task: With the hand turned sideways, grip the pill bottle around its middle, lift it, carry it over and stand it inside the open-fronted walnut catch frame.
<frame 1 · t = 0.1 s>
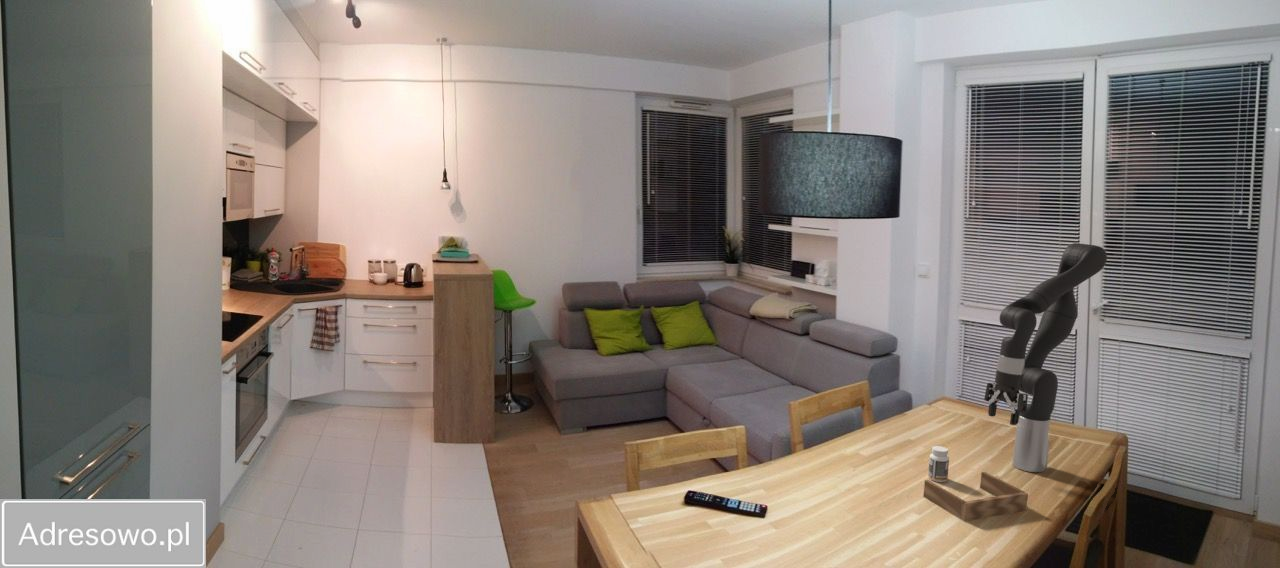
hand: (1002, 420, 230), 17 cm above the table, fingers open, 8 cm apart
pill bottle: (937, 479, 226), on the table
catch frame: (971, 501, 211), on the table
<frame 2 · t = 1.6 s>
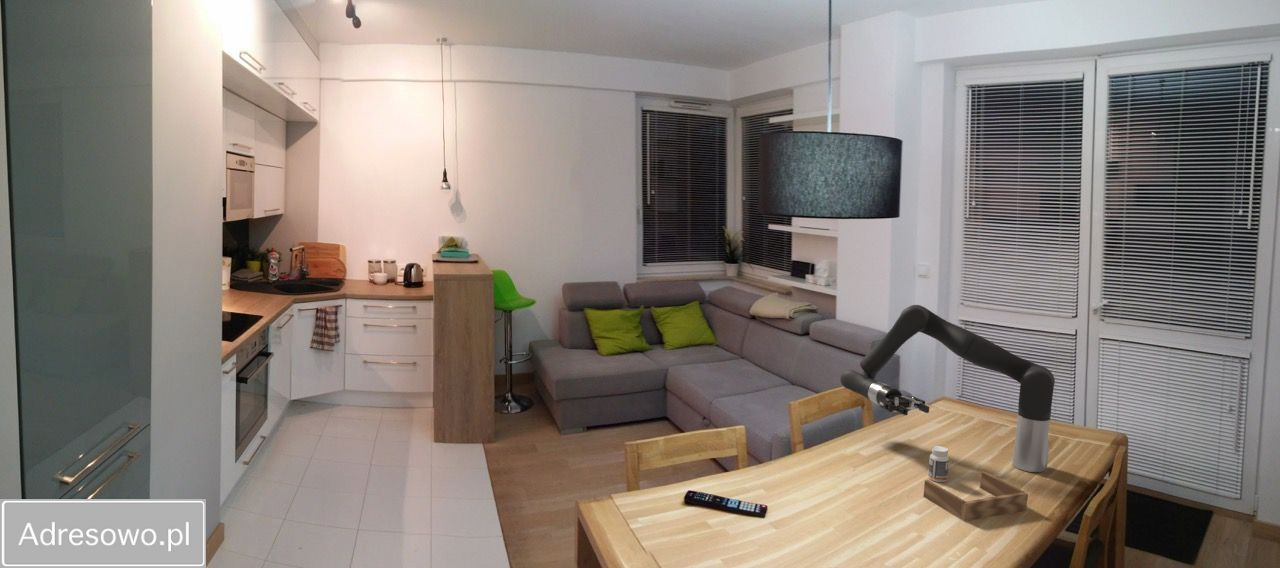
hand: (917, 411, 233), 18 cm above the table, fingers open, 8 cm apart
nothing on the table moved.
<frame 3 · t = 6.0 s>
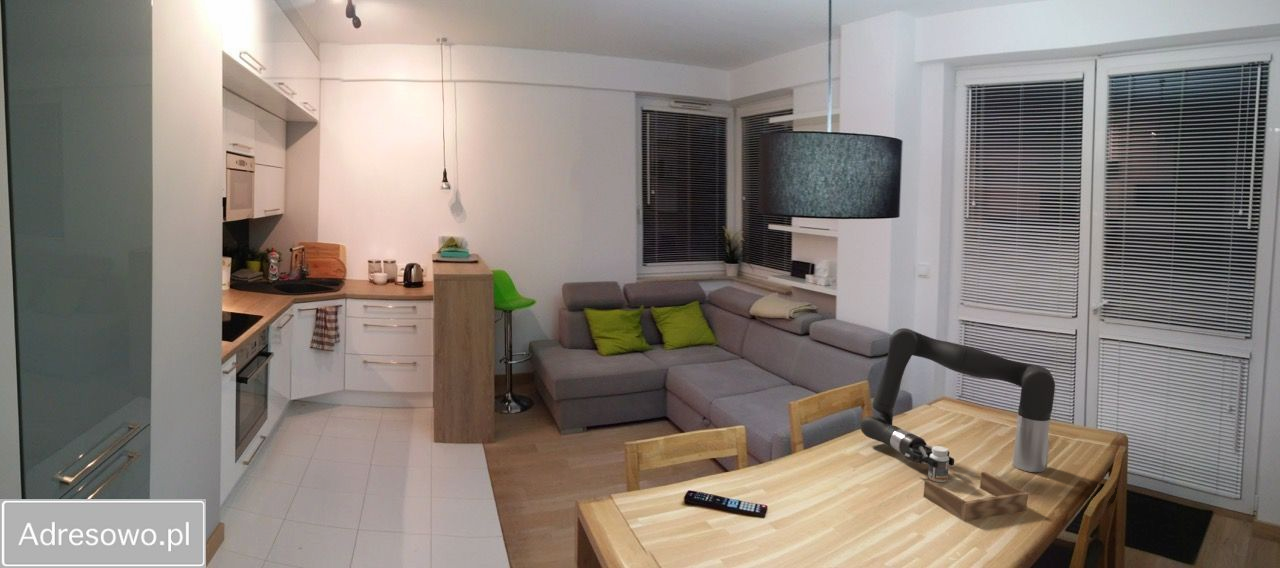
hand: (945, 463, 223), 6 cm above the table, fingers closed on pill bottle, 5 cm apart
pill bottle: (937, 479, 226), on the table, touching gripper
when the fingers open (7 cm above the table, at t = 11.0 s): pill bottle drops 1 cm, on the table.
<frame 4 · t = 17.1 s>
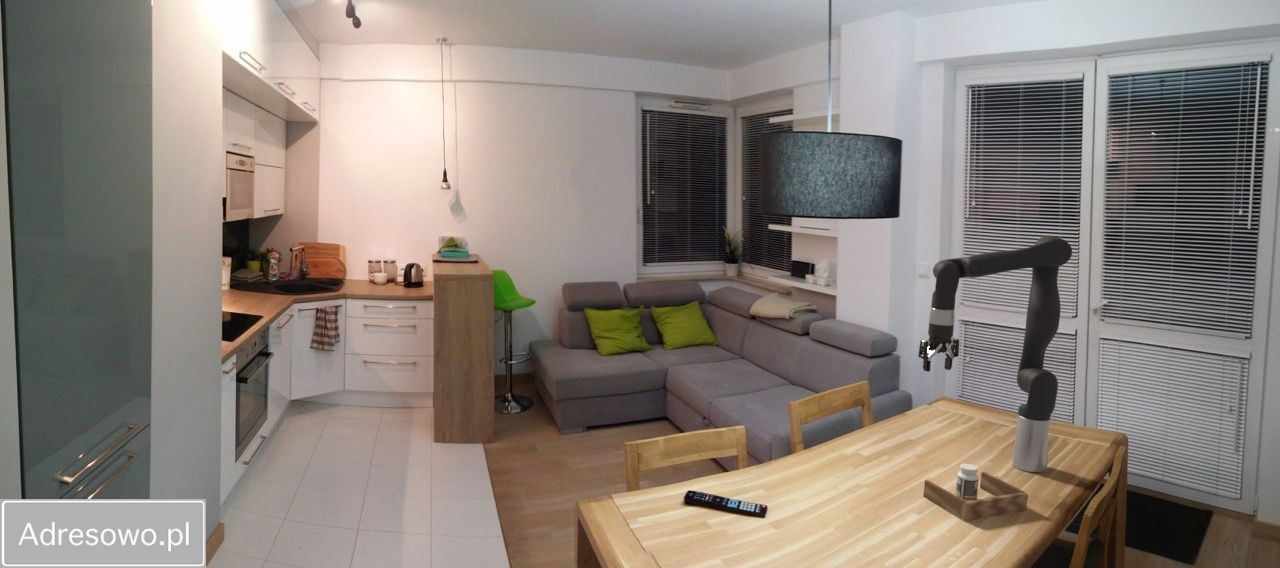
hand: (937, 370, 239), 30 cm above the table, fingers open, 8 cm apart
pill bottle: (965, 499, 213), on the table
at the end: pill bottle inside the target area (2.6 cm from its centre), on the table; pill bottle tilted 0°; the gripper is holding nothing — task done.
